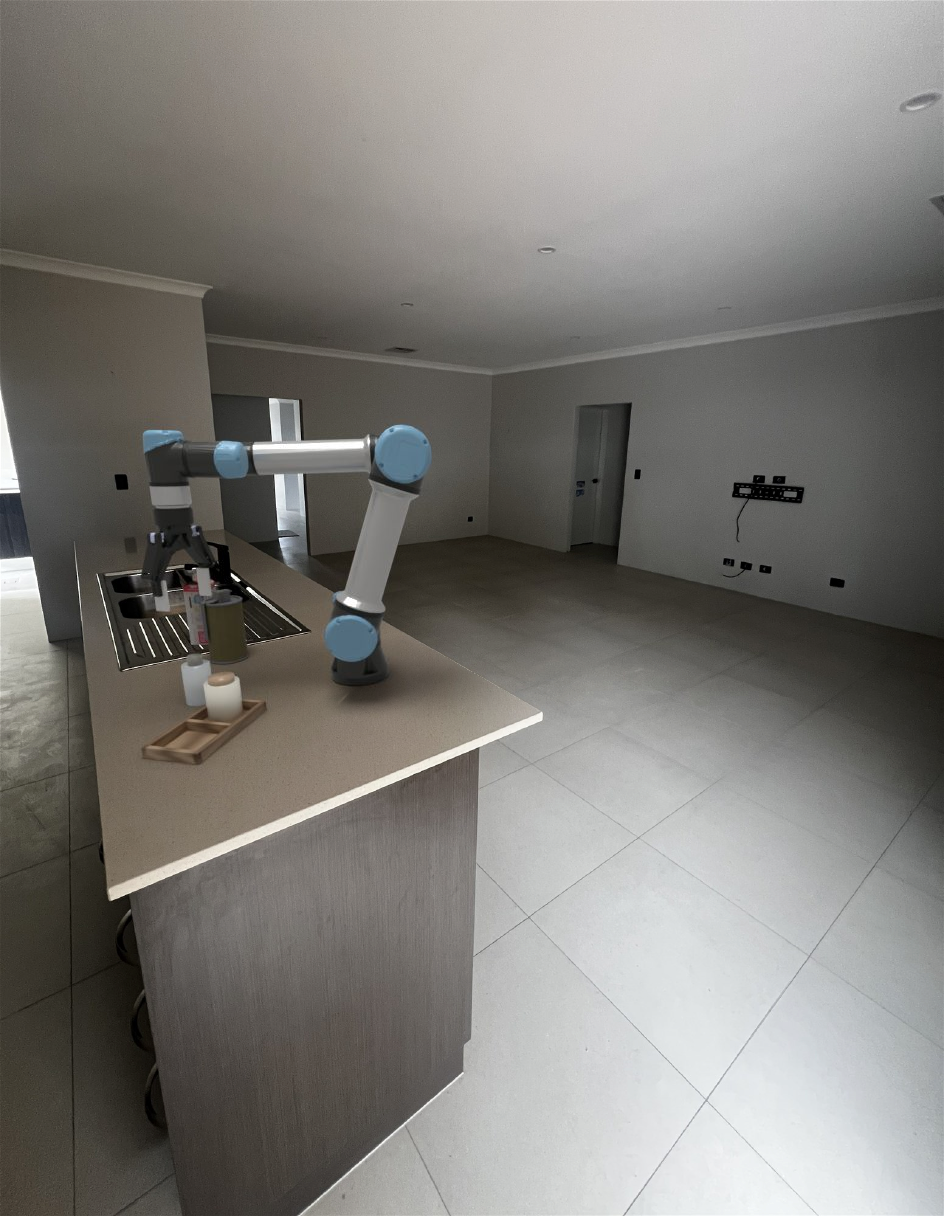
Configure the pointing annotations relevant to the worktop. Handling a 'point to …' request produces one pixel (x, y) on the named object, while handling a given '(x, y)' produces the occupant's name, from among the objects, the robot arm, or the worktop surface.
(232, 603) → the canister
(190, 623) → the juice carton
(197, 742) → the caddy
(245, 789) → the worktop surface
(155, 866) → the worktop surface
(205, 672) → the plastic bottle
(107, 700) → the worktop surface
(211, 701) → the ceramic jar
